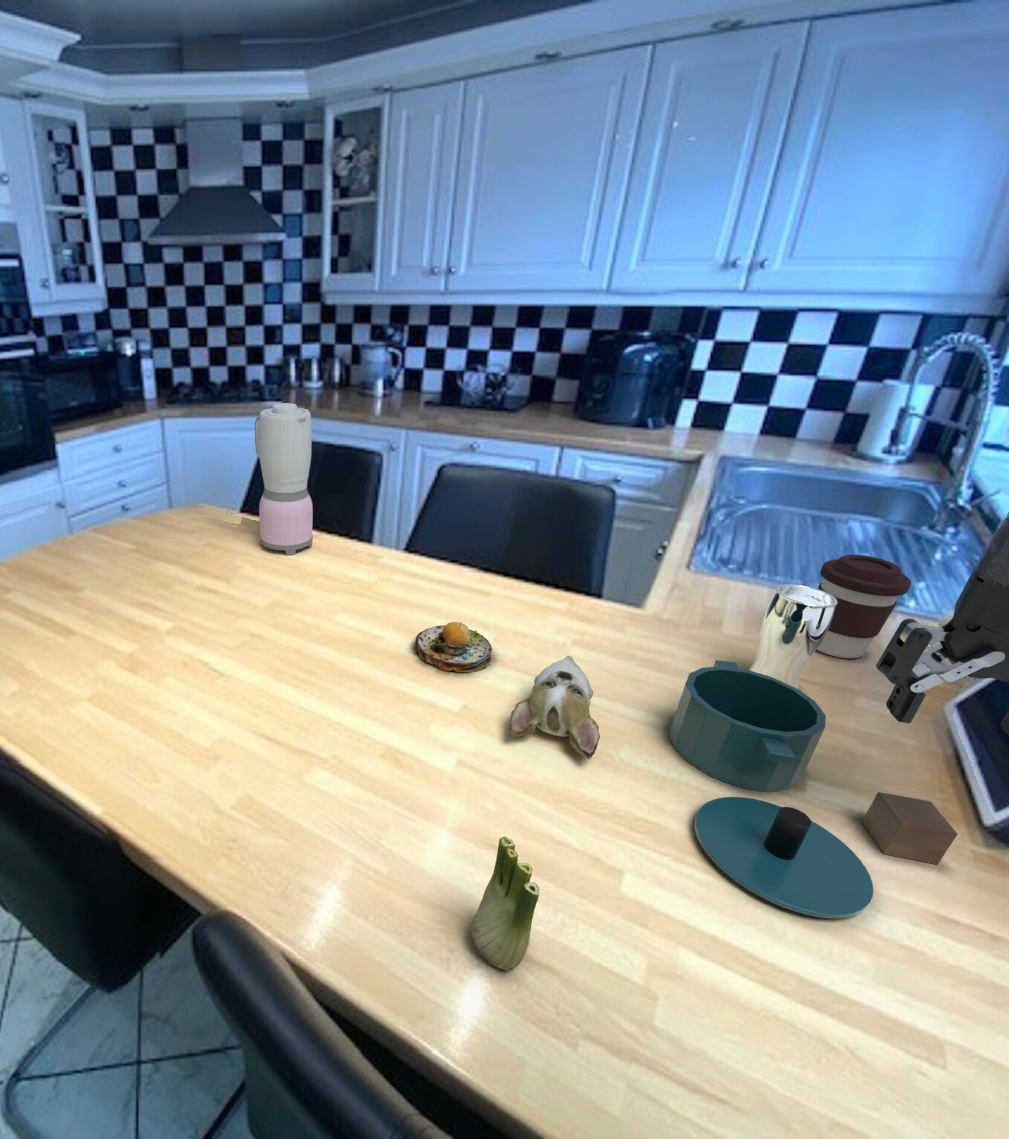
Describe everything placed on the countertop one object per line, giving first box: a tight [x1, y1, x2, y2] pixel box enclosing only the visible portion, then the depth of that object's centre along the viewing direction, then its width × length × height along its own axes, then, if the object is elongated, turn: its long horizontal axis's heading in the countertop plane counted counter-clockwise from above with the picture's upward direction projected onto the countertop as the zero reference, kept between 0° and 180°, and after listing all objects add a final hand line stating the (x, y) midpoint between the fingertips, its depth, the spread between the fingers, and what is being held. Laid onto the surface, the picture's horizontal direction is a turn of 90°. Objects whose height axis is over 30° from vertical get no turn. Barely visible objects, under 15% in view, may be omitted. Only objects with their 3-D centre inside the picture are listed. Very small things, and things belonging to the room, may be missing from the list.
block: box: [861, 791, 958, 866], centre depth 66 cm, size 4×4×4 cm
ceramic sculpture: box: [508, 655, 601, 760], centre depth 84 cm, size 11×9×15 cm
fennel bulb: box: [470, 836, 540, 972], centre depth 55 cm, size 6×5×12 cm
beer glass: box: [748, 583, 838, 690], centre depth 89 cm, size 7×7×15 cm
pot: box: [669, 659, 827, 793], centre depth 78 cm, size 14×19×8 cm
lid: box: [694, 796, 874, 919], centre depth 64 cm, size 15×15×6 cm
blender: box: [254, 402, 314, 556], centre depth 139 cm, size 16×12×32 cm
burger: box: [414, 621, 493, 673], centre depth 101 cm, size 12×12×8 cm
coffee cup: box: [816, 554, 912, 659], centre depth 97 cm, size 10×10×15 cm
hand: (953, 725), depth 60 cm, fingers open, 8 cm apart
